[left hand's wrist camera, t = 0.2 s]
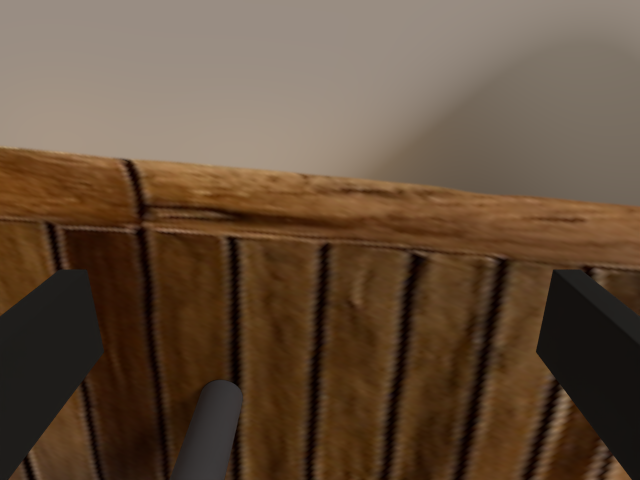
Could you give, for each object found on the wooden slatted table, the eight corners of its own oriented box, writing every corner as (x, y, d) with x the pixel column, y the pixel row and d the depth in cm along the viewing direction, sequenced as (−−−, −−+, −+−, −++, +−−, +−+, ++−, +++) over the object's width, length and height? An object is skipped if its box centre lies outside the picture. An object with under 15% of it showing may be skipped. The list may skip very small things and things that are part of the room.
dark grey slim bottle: (220, 372, 48) (159, 562, 29) (251, 397, 49) (210, 595, 31) (192, 395, 49) (116, 593, 31) (223, 419, 50) (168, 623, 32)
